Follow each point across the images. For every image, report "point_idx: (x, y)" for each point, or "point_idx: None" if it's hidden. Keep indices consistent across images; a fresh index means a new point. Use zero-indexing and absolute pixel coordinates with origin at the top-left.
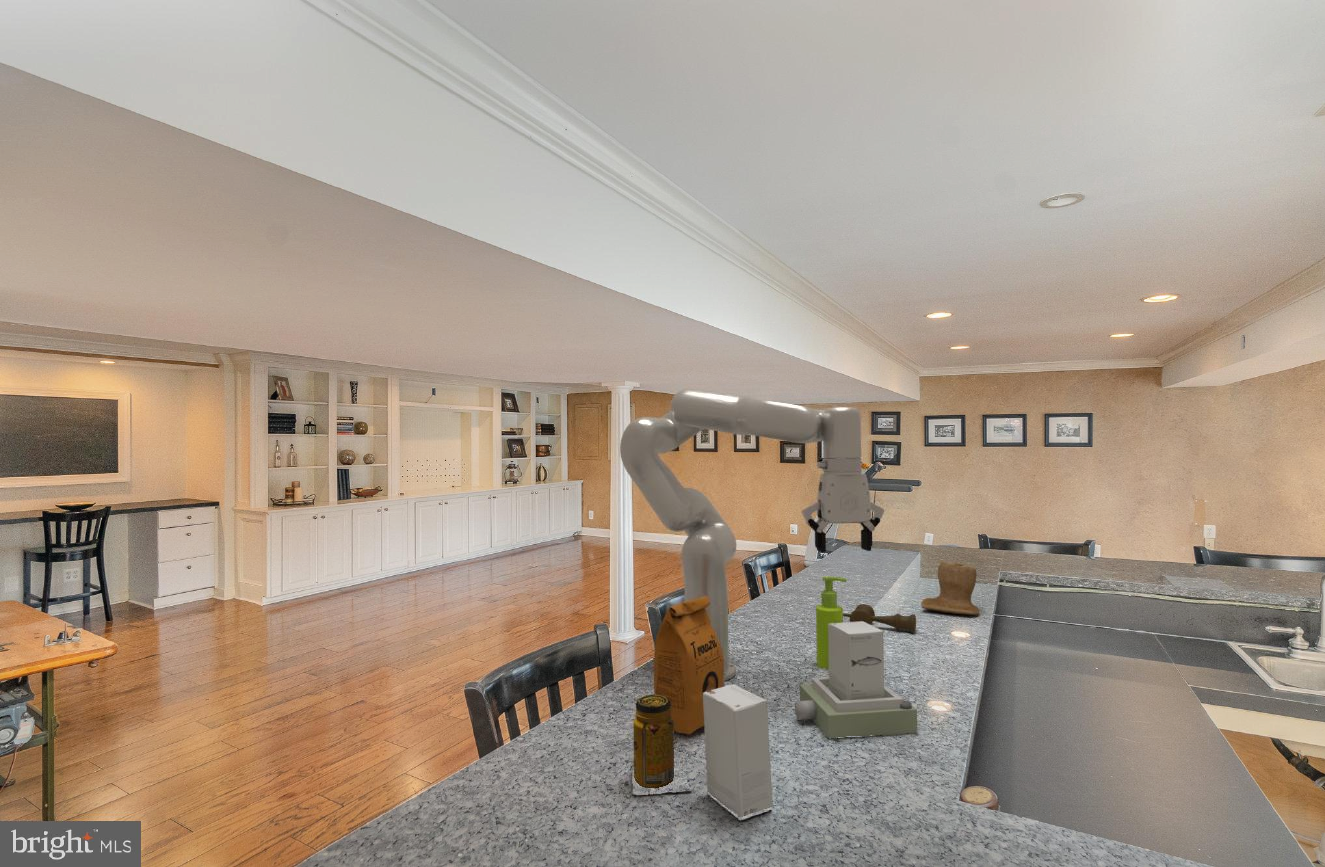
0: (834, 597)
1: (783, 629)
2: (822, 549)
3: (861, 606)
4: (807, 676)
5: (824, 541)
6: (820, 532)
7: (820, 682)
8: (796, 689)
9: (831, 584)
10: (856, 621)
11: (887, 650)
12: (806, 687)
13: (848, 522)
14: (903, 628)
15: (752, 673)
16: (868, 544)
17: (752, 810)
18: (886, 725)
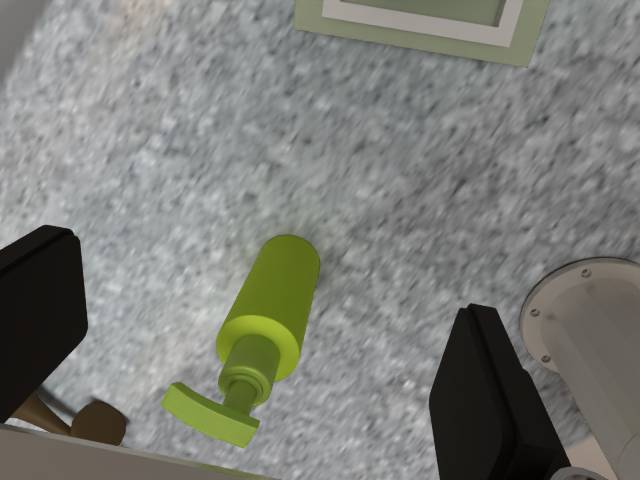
0: (239, 356)
1: (271, 468)
2: (498, 321)
3: None
4: (378, 223)
5: (500, 364)
6: (575, 469)
7: (508, 2)
8: (452, 161)
9: (231, 399)
10: (110, 429)
11: (112, 297)
12: (524, 40)
13: (152, 456)
14: None
15: (490, 281)
16: (34, 253)
17: None
18: None
